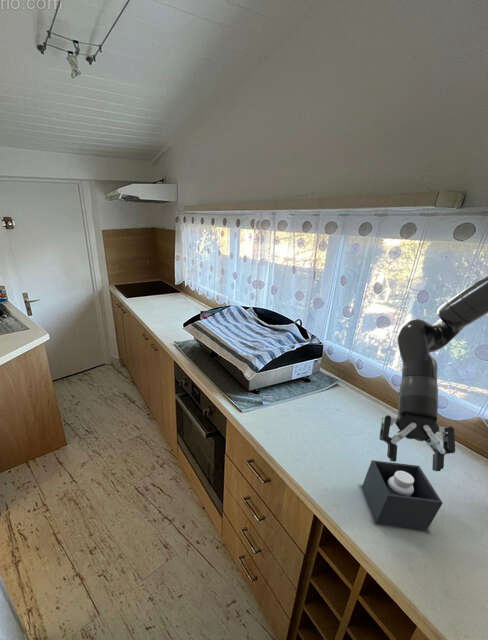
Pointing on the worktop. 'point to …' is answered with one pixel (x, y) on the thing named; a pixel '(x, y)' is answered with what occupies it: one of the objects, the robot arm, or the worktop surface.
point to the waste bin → (400, 497)
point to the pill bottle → (401, 484)
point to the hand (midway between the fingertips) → (414, 466)
